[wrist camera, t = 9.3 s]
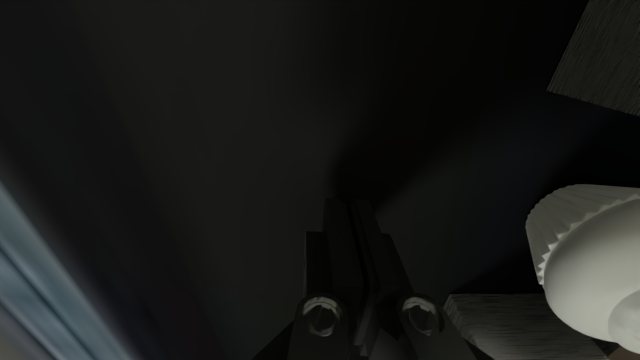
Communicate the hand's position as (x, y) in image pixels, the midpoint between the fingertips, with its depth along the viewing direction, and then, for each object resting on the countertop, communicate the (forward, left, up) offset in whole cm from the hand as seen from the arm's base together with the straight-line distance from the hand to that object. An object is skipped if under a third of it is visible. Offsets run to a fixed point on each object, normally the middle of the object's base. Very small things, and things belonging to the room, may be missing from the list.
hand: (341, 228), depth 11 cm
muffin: (0, -10, -1) cm, 10 cm away
